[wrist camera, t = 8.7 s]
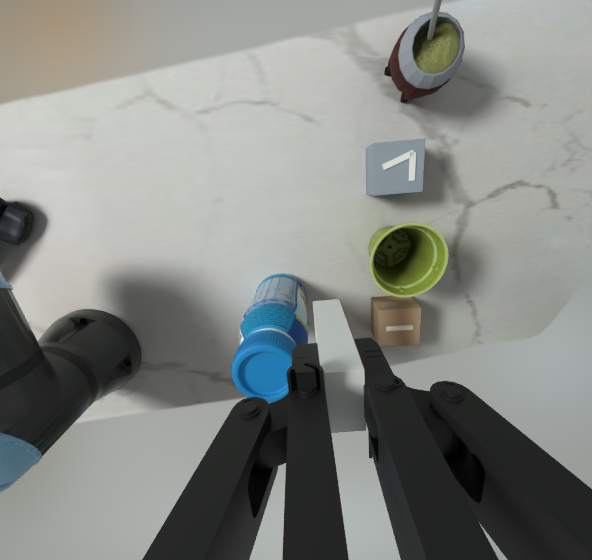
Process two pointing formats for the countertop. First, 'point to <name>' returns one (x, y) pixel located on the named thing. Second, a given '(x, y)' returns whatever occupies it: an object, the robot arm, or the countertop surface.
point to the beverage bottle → (270, 337)
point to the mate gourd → (426, 54)
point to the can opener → (14, 222)
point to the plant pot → (407, 259)
